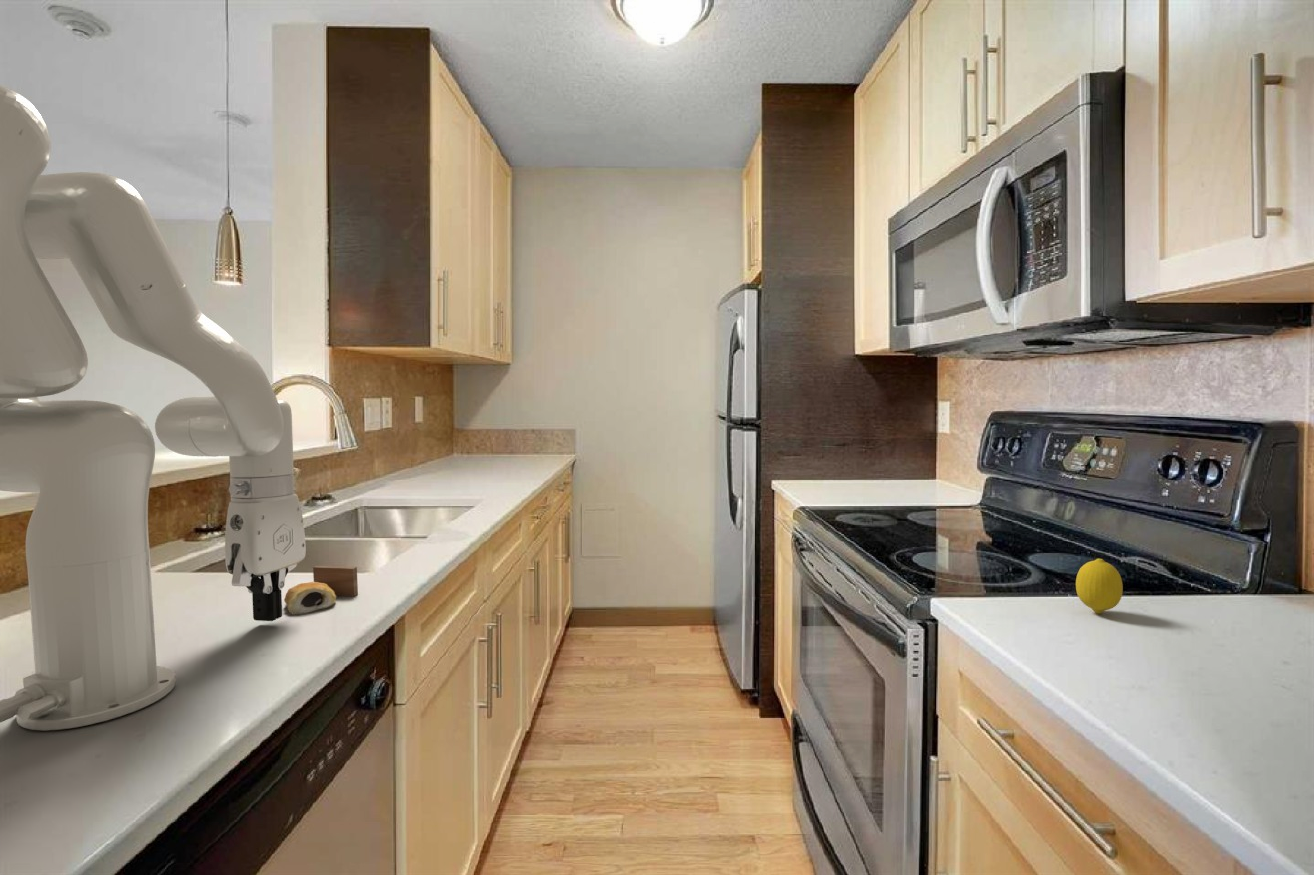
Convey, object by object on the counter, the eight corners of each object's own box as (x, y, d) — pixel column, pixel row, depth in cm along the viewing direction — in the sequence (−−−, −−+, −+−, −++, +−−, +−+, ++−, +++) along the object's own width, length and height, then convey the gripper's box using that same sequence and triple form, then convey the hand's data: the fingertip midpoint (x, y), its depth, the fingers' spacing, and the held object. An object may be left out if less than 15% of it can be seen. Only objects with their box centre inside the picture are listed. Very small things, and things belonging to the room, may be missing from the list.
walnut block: (354, 596, 102) (353, 568, 102) (314, 594, 103) (313, 567, 103) (357, 594, 103) (356, 567, 103) (318, 592, 104) (317, 565, 104)
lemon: (1114, 623, 88) (1116, 565, 87) (1068, 612, 92) (1070, 558, 92) (1126, 614, 91) (1129, 559, 91) (1082, 604, 96) (1084, 551, 95)
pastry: (280, 601, 101) (279, 577, 100) (327, 593, 105) (326, 570, 105) (289, 617, 93) (288, 592, 93) (339, 608, 97) (339, 583, 97)
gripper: (245, 496, 81) (250, 639, 81) (323, 482, 95) (327, 603, 96) (192, 495, 82) (198, 636, 83) (278, 481, 96) (282, 601, 97)
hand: (267, 618), depth 89 cm, fingers closed
